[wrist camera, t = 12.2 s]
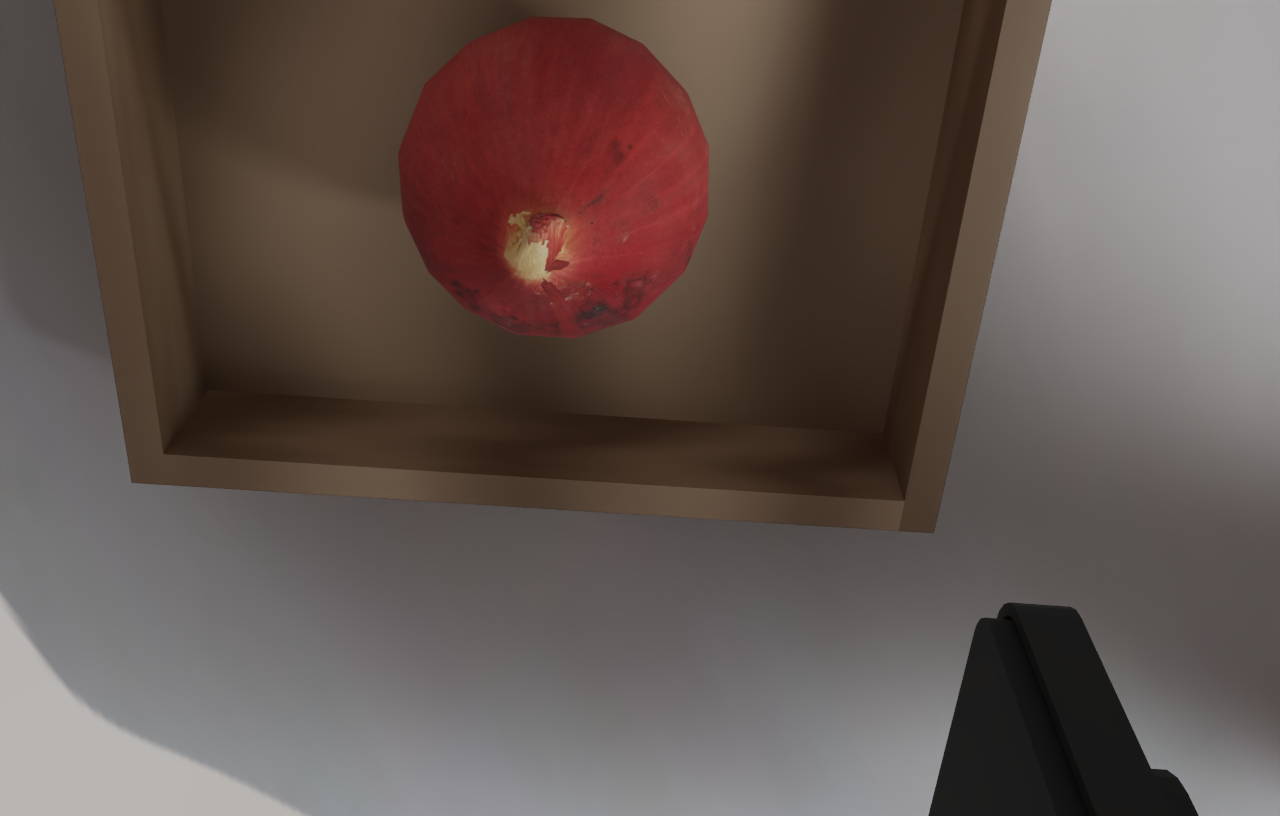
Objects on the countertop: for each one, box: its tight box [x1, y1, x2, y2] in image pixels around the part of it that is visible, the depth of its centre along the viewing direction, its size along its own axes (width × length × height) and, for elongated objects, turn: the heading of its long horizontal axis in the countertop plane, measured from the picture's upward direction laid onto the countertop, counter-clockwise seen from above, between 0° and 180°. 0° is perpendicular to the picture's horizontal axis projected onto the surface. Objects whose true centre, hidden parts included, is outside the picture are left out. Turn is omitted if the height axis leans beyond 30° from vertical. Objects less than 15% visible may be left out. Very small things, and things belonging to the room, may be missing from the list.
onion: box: [398, 17, 709, 338], centre depth 23 cm, size 6×6×8 cm
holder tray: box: [53, 0, 1052, 533], centre depth 25 cm, size 18×16×4 cm
